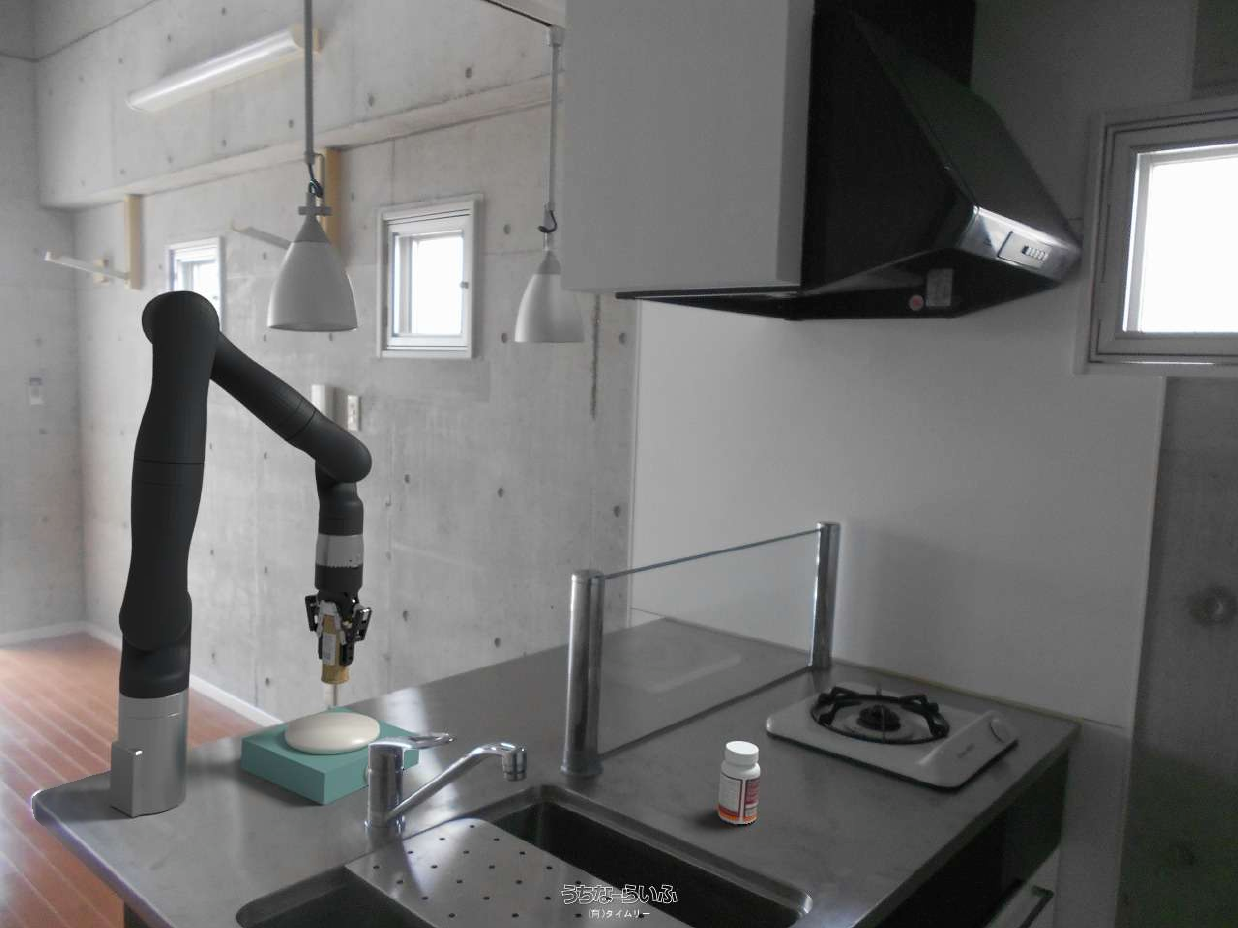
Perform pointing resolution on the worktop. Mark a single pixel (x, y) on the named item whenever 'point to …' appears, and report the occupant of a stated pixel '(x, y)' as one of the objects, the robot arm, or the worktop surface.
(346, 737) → the scale pan
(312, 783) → the scale
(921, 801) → the worktop surface
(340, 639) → the robot arm
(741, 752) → the pill bottle
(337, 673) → the sprinkles bottle
